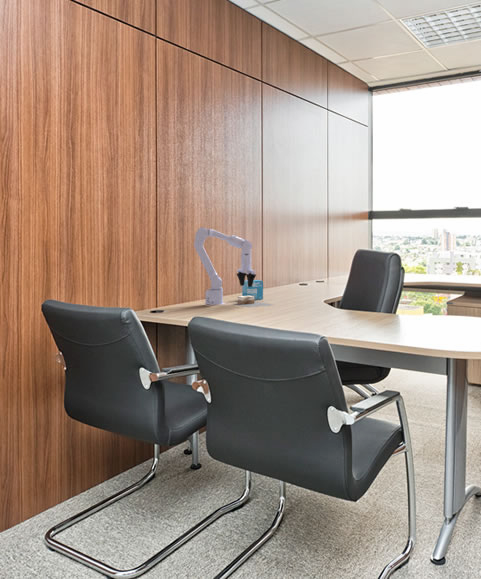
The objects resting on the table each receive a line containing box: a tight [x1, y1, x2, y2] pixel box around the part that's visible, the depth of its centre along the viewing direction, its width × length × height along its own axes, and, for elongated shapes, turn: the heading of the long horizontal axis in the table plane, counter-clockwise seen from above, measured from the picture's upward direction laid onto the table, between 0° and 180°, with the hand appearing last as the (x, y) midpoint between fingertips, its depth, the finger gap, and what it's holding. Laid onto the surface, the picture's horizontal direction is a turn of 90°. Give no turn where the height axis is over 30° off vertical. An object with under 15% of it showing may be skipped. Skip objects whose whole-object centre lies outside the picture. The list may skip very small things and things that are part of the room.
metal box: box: [237, 295, 255, 304], centre depth 310 cm, size 8×5×4 cm, turn 125°
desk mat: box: [233, 301, 274, 308], centre depth 307 cm, size 18×17×1 cm
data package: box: [241, 279, 264, 301], centre depth 328 cm, size 12×4×12 cm, turn 120°
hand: (246, 286), depth 309 cm, fingers open, 7 cm apart
